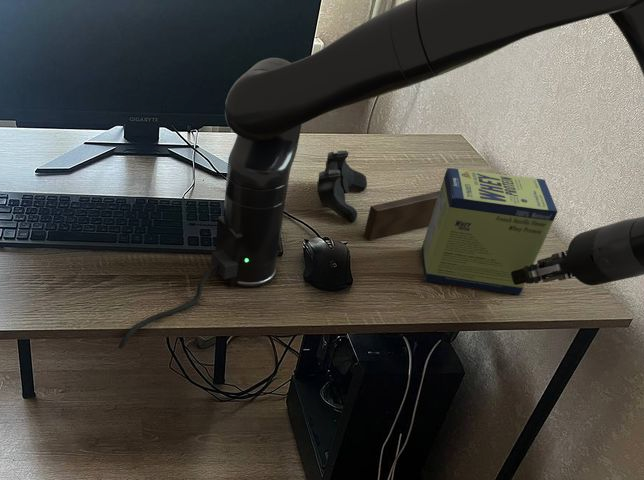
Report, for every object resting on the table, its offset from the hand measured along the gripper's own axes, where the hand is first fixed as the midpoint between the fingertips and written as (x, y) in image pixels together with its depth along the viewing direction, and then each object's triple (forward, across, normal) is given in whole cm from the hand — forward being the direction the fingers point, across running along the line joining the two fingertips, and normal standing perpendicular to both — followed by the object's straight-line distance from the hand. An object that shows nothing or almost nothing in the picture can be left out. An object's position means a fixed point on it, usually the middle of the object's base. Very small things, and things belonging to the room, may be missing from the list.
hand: (515, 277), depth 108 cm
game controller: (+29, +7, -23) cm, 38 cm away
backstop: (+20, 0, -14) cm, 24 cm away
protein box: (+9, 0, -3) cm, 10 cm away
